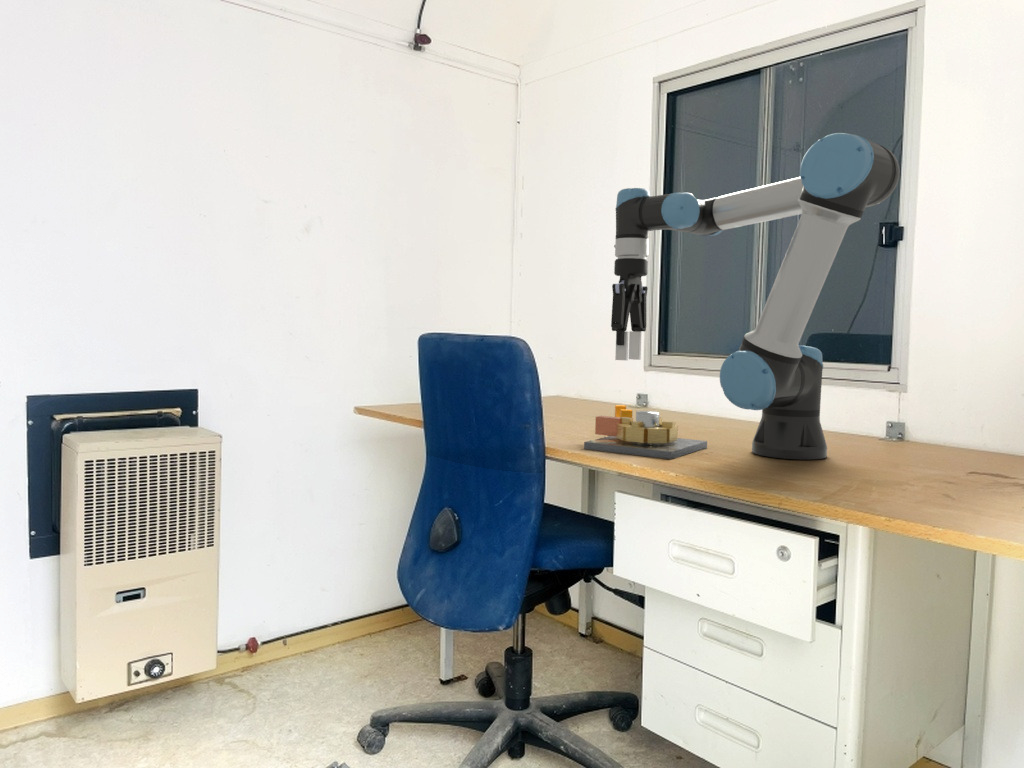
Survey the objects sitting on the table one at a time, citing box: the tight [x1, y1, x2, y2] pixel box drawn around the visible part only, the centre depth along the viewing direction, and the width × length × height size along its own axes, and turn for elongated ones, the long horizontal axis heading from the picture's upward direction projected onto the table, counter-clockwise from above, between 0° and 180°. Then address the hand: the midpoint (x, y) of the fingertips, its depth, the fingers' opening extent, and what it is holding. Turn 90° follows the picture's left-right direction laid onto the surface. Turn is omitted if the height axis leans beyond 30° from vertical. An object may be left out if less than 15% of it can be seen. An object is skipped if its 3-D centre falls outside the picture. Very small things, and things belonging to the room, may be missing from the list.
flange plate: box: [583, 410, 708, 460], centre depth 176 cm, size 20×20×8 cm
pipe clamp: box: [614, 404, 633, 418], centre depth 201 cm, size 12×4×6 cm, turn 0°
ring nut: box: [594, 415, 679, 443], centre depth 177 cm, size 18×12×4 cm
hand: (628, 359), depth 185 cm, fingers open, 6 cm apart
